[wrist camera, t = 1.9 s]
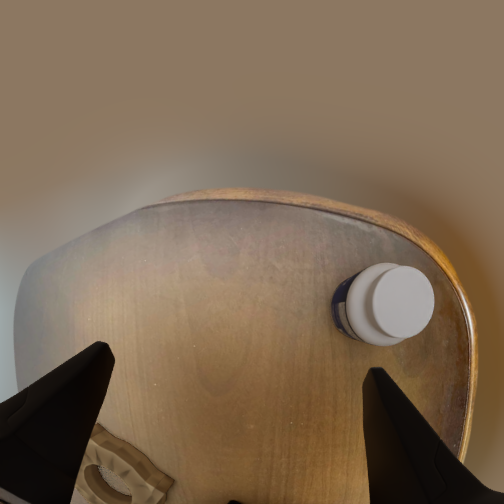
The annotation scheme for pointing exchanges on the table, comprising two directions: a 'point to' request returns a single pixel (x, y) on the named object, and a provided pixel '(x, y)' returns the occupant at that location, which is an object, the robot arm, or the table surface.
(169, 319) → the table surface
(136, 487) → the socket plate
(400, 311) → the pill bottle
